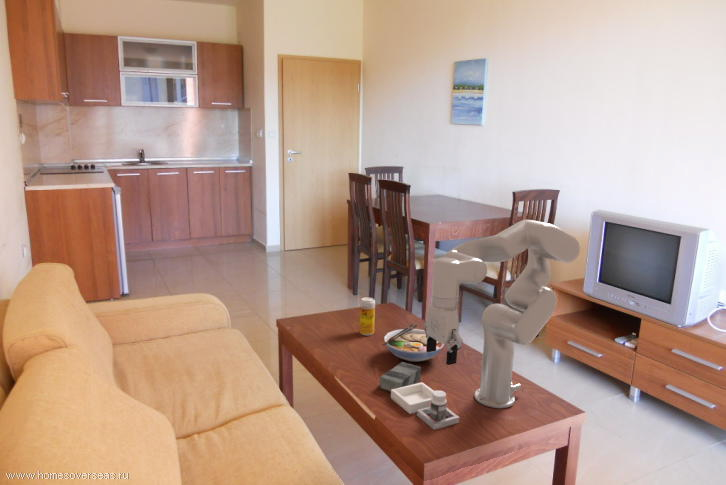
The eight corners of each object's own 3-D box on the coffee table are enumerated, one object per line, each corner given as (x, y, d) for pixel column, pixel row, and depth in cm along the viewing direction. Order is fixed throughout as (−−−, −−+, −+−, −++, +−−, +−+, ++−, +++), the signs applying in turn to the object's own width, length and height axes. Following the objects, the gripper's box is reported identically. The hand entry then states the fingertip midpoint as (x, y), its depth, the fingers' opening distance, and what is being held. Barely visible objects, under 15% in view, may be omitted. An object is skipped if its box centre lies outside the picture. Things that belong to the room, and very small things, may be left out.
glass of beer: (357, 335, 229) (358, 300, 225) (362, 330, 234) (363, 296, 231) (371, 337, 227) (372, 302, 224) (375, 331, 233) (376, 297, 229)
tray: (421, 390, 182) (422, 382, 182) (441, 405, 173) (442, 396, 172) (390, 398, 177) (391, 389, 176) (409, 414, 167) (410, 405, 167)
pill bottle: (426, 416, 166) (428, 391, 164) (440, 413, 168) (441, 388, 166) (434, 424, 162) (436, 398, 160) (448, 421, 164) (450, 395, 162)
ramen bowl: (424, 378, 191) (426, 356, 190) (369, 361, 204) (370, 340, 202) (455, 354, 212) (456, 334, 210) (403, 340, 224) (404, 321, 222)
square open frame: (440, 408, 171) (441, 403, 170) (458, 422, 163) (459, 417, 163) (416, 415, 167) (416, 409, 166) (434, 429, 159) (434, 424, 159)
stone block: (376, 389, 183) (376, 374, 182) (398, 374, 195) (399, 360, 194) (399, 397, 178) (399, 382, 177) (420, 380, 190) (421, 366, 189)
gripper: (416, 294, 163) (413, 348, 166) (452, 312, 148) (448, 371, 151) (437, 291, 166) (433, 344, 170) (474, 308, 151) (470, 366, 155)
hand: (440, 357), depth 161 cm, fingers open, 9 cm apart
